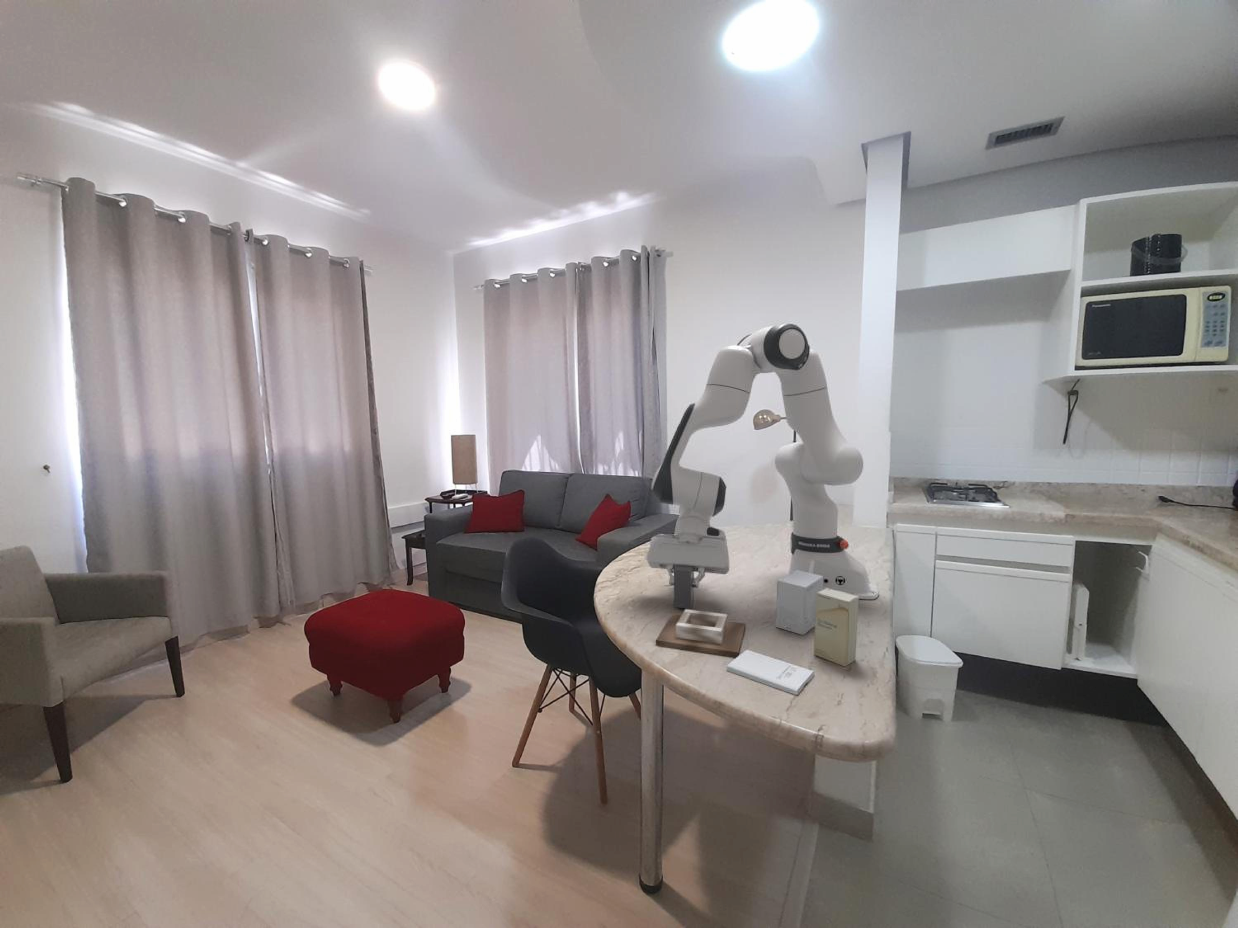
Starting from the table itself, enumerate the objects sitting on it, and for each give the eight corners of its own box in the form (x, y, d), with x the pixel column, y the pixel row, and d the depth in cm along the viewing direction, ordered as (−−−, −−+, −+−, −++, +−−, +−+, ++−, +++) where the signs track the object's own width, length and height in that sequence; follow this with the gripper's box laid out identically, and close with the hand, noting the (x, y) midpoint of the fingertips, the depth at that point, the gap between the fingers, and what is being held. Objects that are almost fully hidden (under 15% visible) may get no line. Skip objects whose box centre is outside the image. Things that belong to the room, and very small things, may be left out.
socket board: (745, 627, 101) (745, 612, 101) (738, 657, 88) (738, 639, 88) (672, 618, 107) (672, 603, 107) (655, 644, 94) (655, 627, 94)
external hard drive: (747, 657, 90) (814, 678, 82) (726, 673, 84) (796, 698, 76) (747, 648, 90) (814, 669, 82) (726, 664, 84) (797, 689, 76)
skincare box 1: (804, 636, 97) (805, 586, 97) (774, 627, 102) (775, 579, 101) (823, 620, 105) (824, 574, 104) (794, 613, 109) (795, 569, 109)
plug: (694, 602, 114) (693, 566, 114) (690, 608, 111) (690, 571, 110) (677, 600, 116) (677, 564, 115) (674, 606, 112) (673, 569, 111)
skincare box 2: (813, 654, 89) (814, 592, 88) (824, 647, 92) (825, 586, 91) (846, 667, 84) (848, 601, 83) (857, 659, 87) (859, 595, 86)
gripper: (649, 526, 122) (638, 575, 114) (730, 531, 115) (725, 583, 106) (654, 539, 126) (644, 587, 118) (732, 545, 119) (727, 595, 111)
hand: (683, 585), depth 112 cm, fingers closed on plug, 4 cm apart
